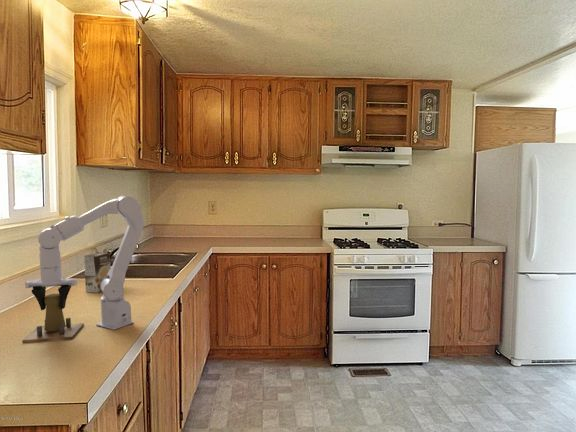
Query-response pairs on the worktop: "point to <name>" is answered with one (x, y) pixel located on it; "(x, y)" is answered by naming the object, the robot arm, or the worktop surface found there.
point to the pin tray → (54, 333)
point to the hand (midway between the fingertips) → (53, 308)
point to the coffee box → (96, 270)
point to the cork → (53, 313)
